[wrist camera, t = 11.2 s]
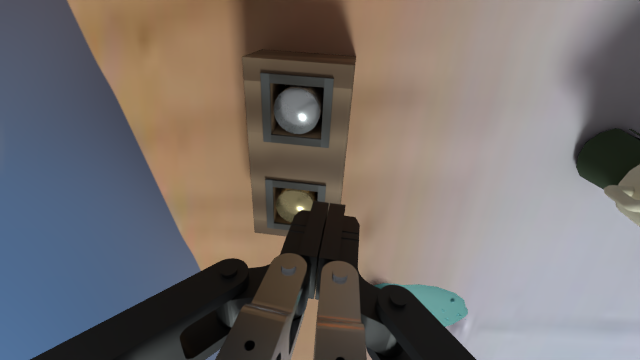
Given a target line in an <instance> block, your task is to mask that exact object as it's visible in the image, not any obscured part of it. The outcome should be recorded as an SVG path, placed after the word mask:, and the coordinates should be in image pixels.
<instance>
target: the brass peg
mask: <svg viewBox="0 0 640 360" xmlns="http://www.w3.org/2000/svg"><path fill="white" fill-rule="evenodd" d="M317 198H318V192H314V191H305V190H296V189H287V188H282V190H281V193H280V195H279V197H278V199H277V202H276V209H277V211H278V213H279V215H280V216H281V217H282V218H283V219H285V220H286V221H288V222H291V223H292V220H293V217H294V215H296V214H297V213H298V212H299V211H300V210H307V211H311V207H312V204H313V201H317Z"/></svg>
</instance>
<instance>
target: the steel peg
mask: <svg viewBox="0 0 640 360" xmlns="http://www.w3.org/2000/svg"><path fill="white" fill-rule="evenodd" d="M323 98H324V88H323V87H312V86H299V85H289V86H288V87H287V88H286V89H285V90H284V91H283V92H282V93H281V94H280V95H279V96H278V97H277V99H276V101H275V104H274V115H275V118H276V120H277V122H278V124H279V125H280V126H281V127H282V128H283V129H284V130H286V131H288V132H290V133H293V134H303V133H306V132H309V131H310V130H312V129H313V128H314V127H315V126H316V124H317V122H318V120H319V117H320V115H321V112H322V110H323Z"/></svg>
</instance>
